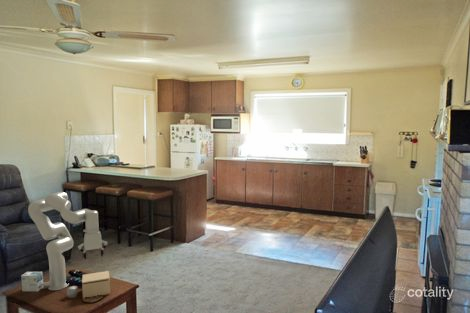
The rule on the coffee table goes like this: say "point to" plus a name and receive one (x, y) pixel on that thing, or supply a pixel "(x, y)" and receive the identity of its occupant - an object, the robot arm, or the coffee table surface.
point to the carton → (96, 288)
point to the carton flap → (95, 277)
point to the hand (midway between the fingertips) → (93, 257)
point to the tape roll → (72, 291)
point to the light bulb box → (32, 281)
